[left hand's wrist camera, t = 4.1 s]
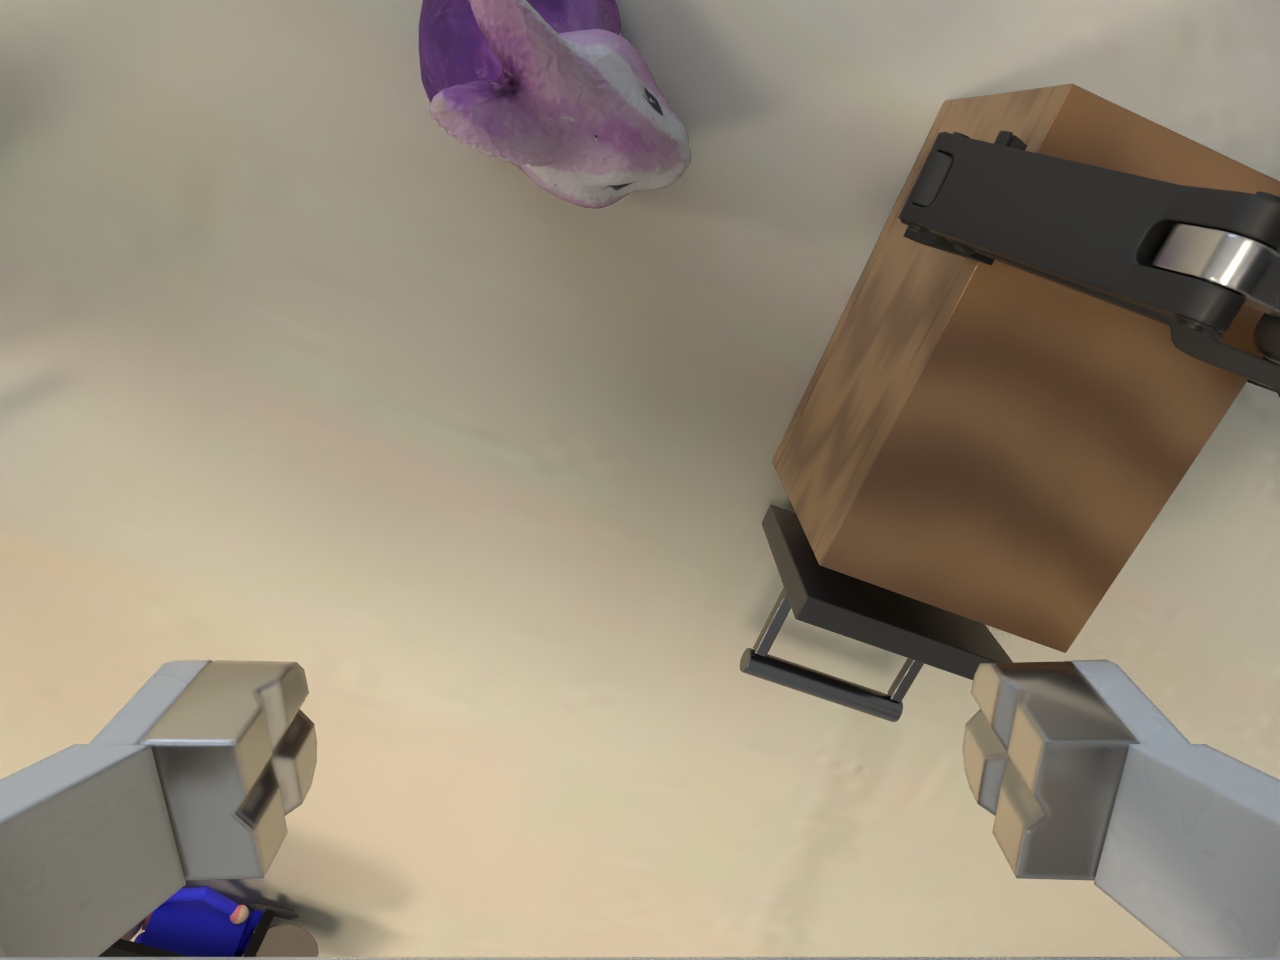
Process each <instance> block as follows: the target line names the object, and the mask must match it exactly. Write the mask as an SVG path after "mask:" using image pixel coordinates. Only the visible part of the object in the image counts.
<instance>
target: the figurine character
mask: <svg viewBox="0 0 1280 960" xmlns="http://www.w3.org/2000/svg"><path fill="white" fill-rule="evenodd" d="M247 907H248V908H249V909H250V910H252V911H253V913H252V914H251V916H250V917H249V919H248V916H249V913H250V910H248V908H247ZM247 907H246V906H245V905H239V904H237V903H236V902H234V901H232V900H230V899H229V898H227V897H225V896H223V895H222V894H220V893H218V892H216V891H215V890H213V889H211V888H209V887H208V886H206V887H191V888H181V889H180V890H179V891H177V892H176V893H175V894H174V895H172V896H171V897H170V898H169V899H168V900H166V901H165V902H164V903H163V904H161V905H160V906H159V907H158V908H157V909H155V910H154V911H153V912H152V913H150V914H149V915H148V916H147V917H146V918H144V919H143V920H142V921H141V922H139V923H138V924H137V925H136V926H135V927H133V928H132V929H131V930H130V931H128V932H127V933H126V934H125V935H124V936H122V937H121V938H120V939H119V940H117V941H116V942H115V943H114V944H113V945H111V946H110V947H109V948H108V949H106V950H105V951H104V952H103V953H102V954H100V955H99V956H98V957H242V956H243V957H318V946H317V943H316V941H315V939H314V938H313V937H312V935H311V934H309V933H308V932H307V931H305V930H304V929H302V928H300V927H297V926H293V925H279V926H275V927H272V928H270V929H268V928H269V926H270V923H271V921H272V919H273V917H274V916H275V917H280V918H285V919H294V918H298V917H299V916H298V915H297V914H296V913H295V912H294V911H292V910H287V909H282V908H277V907H273V906H268V905H263V904H258V903H255V904H251V905H247ZM263 914H264V915H263ZM262 916H263V917H262ZM261 918H262V919H261ZM247 919H248V921H247ZM260 920H261V921H260ZM259 921H260V923H259ZM258 923H259V925H258ZM142 925H143V926H142ZM257 925H258V927H257ZM141 927H142V930H145V932H143V933H141V934H140V935H138V936H137V938H136V939H135V941H134V942H132V941H129V940H130V939H132V938H133V937H134V936H135V935H136V933H137V932H138V931H139V930H140V928H141ZM256 927H257V929H256V931H255V933H253V932H254V930H255V928H256ZM243 954H244V955H243Z"/></svg>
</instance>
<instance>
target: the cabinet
mask: <svg viewBox="0 0 1280 960" xmlns="http://www.w3.org/2000/svg"><path fill="white" fill-rule="evenodd" d="M999 131H1009V132H1012V133H1013V135H1015V136H1017V137H1018V138H1019V139H1020V140H1022V141H1023V142H1024V144H1027V145H1028V146H1027V148H1026V150H1025V151H1030V152H1034V153H1039V154H1043V155H1048V156H1052V157H1057V158H1061V159H1066V160H1070V161H1075V162H1079V163H1084V164H1088V165H1093V166H1097V167H1102V168H1106V169H1111V170H1115V171H1120V172H1124V173H1129V174H1133V175H1138V176H1142V177H1147V178H1151V179H1156V180H1160V181H1165V182H1169V183H1173V184H1178V185H1184V186H1193V187H1202V188H1211V189H1220V190H1229V191H1237V192H1245V193H1251V194H1256V192H1266V193H1270V194H1273V195H1276V196H1278V197H1280V182H1279V181H1277V180H1275V179H1273V178H1271V177H1269V176H1267V175H1265V174H1263V173H1260V172H1258V171H1256V170H1254V169H1252V168H1250V167H1248V166H1246V165H1243V164H1241V163H1239V162H1237V161H1235V160H1233V159H1231V158H1229V157H1227V156H1224V155H1222V154H1220V153H1218V152H1216V151H1214V150H1212V149H1210V148H1207V147H1205V146H1203V145H1201V144H1199V143H1197V142H1195V141H1193V140H1190V139H1188V138H1186V137H1184V136H1182V135H1180V134H1178V133H1176V132H1174V131H1171V130H1169V129H1167V128H1165V127H1163V126H1161V125H1159V124H1157V123H1154V122H1152V121H1150V120H1148V119H1146V118H1144V117H1142V116H1140V115H1138V114H1135V113H1133V112H1131V111H1129V110H1127V109H1125V108H1123V107H1121V106H1118V105H1116V104H1114V103H1112V102H1110V101H1108V100H1106V99H1104V98H1102V97H1099V96H1097V95H1095V94H1093V93H1091V92H1089V91H1087V90H1085V89H1082V88H1080V87H1078V86H1076V85H1074V84H1066V85H1058V86H1053V87H1045V88H1038V89H1031V90H1023V91H1016V92H1009V93H1001V94H994V95H986V96H979V97H972V98H964V99H957V100H948V101H945V102H944V103H943V105H942V107H941V110H940V112H939V114H938V116H937V118H936V120H935V122H934V124H933V126H932V128H931V130H930V133H929V135H928V137H927V139H926V141H925V143H924V145H923V147H922V149H921V151H920V153H919V156H918V158H917V160H916V162H915V164H914V166H913V168H912V170H911V172H910V174H909V176H908V179H907V181H906V183H905V185H904V187H903V189H902V191H901V193H900V195H899V197H898V199H897V202H896V204H895V206H894V208H893V210H892V212H891V214H890V216H889V218H888V220H887V222H886V225H885V227H884V229H883V231H882V233H881V235H880V237H879V239H878V241H877V243H876V245H875V248H874V250H873V252H872V254H871V256H870V258H869V260H868V262H867V264H866V266H865V268H864V271H863V273H862V275H861V277H860V279H859V281H858V283H857V285H856V287H855V289H854V291H853V294H852V296H851V298H850V300H849V302H848V304H847V306H846V308H845V310H844V312H843V315H842V317H841V319H840V321H839V323H838V325H837V327H836V329H835V331H834V333H833V335H832V338H831V340H830V342H829V344H828V346H827V348H826V350H825V352H824V354H823V356H822V358H821V361H820V363H819V365H818V367H817V369H816V371H815V373H814V375H813V377H812V379H811V381H810V384H809V386H808V388H807V390H806V392H805V394H804V396H803V398H802V400H801V402H800V404H799V407H798V409H797V411H796V413H795V415H794V417H793V419H792V421H791V423H790V425H789V427H788V430H787V432H786V434H785V436H784V438H783V440H782V442H781V444H780V446H779V448H778V450H777V453H776V455H775V457H774V459H773V461H772V463H773V465H774V467H775V469H776V471H777V473H778V475H779V478H780V480H781V482H782V484H783V486H784V489H785V491H786V493H787V495H788V497H789V499H790V502H791V504H792V506H793V508H794V510H795V512H796V515H797V517H798V519H799V521H800V523H801V526H802V528H803V530H804V532H805V534H806V536H807V539H808V541H809V543H810V545H811V547H812V550H813V552H814V554H815V557H816V559H817V561H818V563H819V565H820V566H823V567H826V568H829V569H832V570H835V571H837V572H840V573H843V574H846V575H849V576H851V577H854V578H857V579H860V580H863V581H865V582H868V583H871V584H874V585H877V586H879V587H882V588H885V589H888V590H891V591H893V592H896V593H899V594H902V595H905V596H907V597H910V598H913V599H916V600H919V601H921V602H924V603H927V604H930V605H933V606H935V607H938V608H941V609H944V610H947V611H949V612H952V613H955V614H958V615H961V616H963V617H966V618H969V619H972V620H975V621H977V622H980V623H983V624H986V625H989V626H991V627H994V628H997V629H1000V630H1003V631H1005V632H1008V633H1011V634H1014V635H1017V636H1019V637H1022V638H1025V639H1028V640H1031V641H1033V642H1036V643H1039V644H1042V645H1045V646H1047V647H1050V648H1053V649H1056V650H1059V651H1061V652H1064V653H1066V652H1067V650H1068V649H1069V647H1070V646H1071V644H1072V643H1073V641H1074V640H1075V638H1076V637H1077V635H1078V634H1079V632H1080V631H1081V629H1082V628H1083V626H1084V625H1085V623H1086V622H1087V620H1088V619H1089V617H1090V616H1091V614H1092V613H1093V611H1094V610H1095V608H1096V607H1097V605H1098V604H1099V602H1100V601H1101V599H1102V598H1103V596H1104V595H1105V593H1106V592H1107V590H1108V589H1109V587H1110V586H1111V584H1112V583H1113V581H1114V580H1115V578H1116V577H1117V575H1118V574H1119V572H1120V571H1121V569H1122V568H1123V566H1124V565H1125V563H1126V562H1127V560H1128V559H1129V557H1130V556H1131V554H1132V553H1133V551H1134V550H1135V548H1136V547H1137V545H1138V544H1139V542H1140V541H1141V539H1142V538H1143V536H1144V535H1145V533H1146V532H1147V530H1148V529H1149V527H1150V526H1151V524H1152V523H1153V521H1154V520H1155V518H1156V517H1157V515H1158V514H1159V512H1160V511H1161V509H1162V508H1163V506H1164V505H1165V503H1166V502H1167V500H1168V499H1169V497H1170V496H1171V494H1172V493H1173V491H1174V490H1175V488H1176V487H1177V486H1178V484H1179V483H1180V481H1181V480H1182V478H1183V477H1184V475H1185V474H1186V472H1187V471H1188V469H1189V468H1190V466H1191V465H1192V463H1193V462H1194V460H1195V459H1196V457H1197V456H1198V454H1199V453H1200V451H1201V450H1202V448H1203V447H1204V445H1205V444H1206V442H1207V441H1208V439H1209V438H1210V436H1211V435H1212V433H1213V432H1214V430H1215V429H1216V427H1217V426H1218V424H1219V423H1220V421H1221V420H1222V418H1223V417H1224V415H1225V414H1226V412H1227V411H1228V409H1229V408H1230V406H1231V405H1232V403H1233V402H1234V400H1235V399H1236V397H1237V396H1238V394H1239V393H1240V391H1241V390H1242V388H1243V387H1244V385H1245V384H1246V382H1247V381H1248V379H1246V378H1243V377H1241V376H1238V375H1236V374H1233V373H1231V372H1228V371H1226V370H1223V369H1221V368H1218V367H1216V366H1213V365H1211V364H1208V363H1205V362H1203V361H1200V360H1198V359H1195V358H1193V357H1191V356H1190V355H1188V354H1186V353H1184V352H1182V351H1181V350H1179V349H1178V348H1176V347H1175V345H1174V344H1173V342H1172V341H1171V331H1170V326H1169V325H1166V324H1163V323H1161V322H1158V321H1156V320H1153V319H1150V318H1148V317H1145V316H1142V315H1140V314H1137V313H1134V312H1132V311H1129V310H1126V309H1124V308H1121V307H1119V306H1116V305H1113V304H1111V303H1108V302H1105V301H1103V300H1100V299H1097V298H1095V297H1092V296H1090V295H1087V294H1084V293H1082V292H1079V291H1076V290H1074V289H1071V288H1068V287H1066V286H1063V285H1060V284H1058V283H1055V282H1053V281H1050V280H1047V279H1045V278H1042V277H1039V276H1037V275H1034V274H1031V273H1029V272H1026V271H1024V270H1021V269H1018V268H1016V267H1013V266H1010V265H1008V264H1005V263H1002V262H1000V261H997V260H994V262H993V264H992V265H988V264H985V263H982V262H979V261H975V260H972V259H969V258H965V257H962V256H959V255H956V254H952V253H949V252H946V251H943V250H939V249H936V248H933V247H929V246H926V245H923V244H920V243H918V242H915V241H913V240H911V239H908V238H906V237H904V236H903V235H904V233H905V231H906V229H907V227H908V225H906V224H903V223H901V222H900V221H901V220H900V219H899V218H898V216H899V214H900V212H901V210H902V208H903V206H904V204H905V202H906V200H907V198H908V195H909V193H910V191H911V189H912V187H913V185H914V183H915V181H916V179H917V177H918V175H919V172H920V170H921V168H922V166H923V164H924V162H925V160H926V158H927V156H928V154H929V152H930V149H931V147H932V145H933V143H934V141H935V139H936V137H937V135H938V133H939V132H947V133H950V134H953V132H958V133H961V134H964V135H966V136H968V137H970V138H971V139H976V140H980V141H985V142H989V143H994V141H995V139H996V137H997V135H998V133H999ZM1263 314H1264V312H1262V311H1259V310H1257V309H1254V308H1252V307H1249V306H1246V305H1243V306H1242V307H1241V309H1240V310H1239V312H1238V313H1237V315H1236V317H1235V318H1234V320H1233V321H1232V323H1231V324H1230V326H1229V328H1228V329H1227V331H1226V332H1225V333H1224V334H1223V337H1222V340H1223V342H1224V344H1226V345H1229V346H1231V347H1234V348H1237V349H1239V350H1242V351H1245V352H1247V353H1250V354H1253V355H1255V356H1258V357H1261V358H1263V357H1264V356H1263V355H1261V354H1260V353H1258V352H1257V351H1258V350H1257V349H1256V347H1255V345H1254V342H1253V332H1254V329H1255V327H1256V325H1257V323H1258V321H1259V320H1260V318H1261V317H1262V315H1263Z"/></svg>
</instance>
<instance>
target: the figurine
mask: <svg viewBox="0 0 1280 960" xmlns="http://www.w3.org/2000/svg"><path fill="white" fill-rule="evenodd" d="M419 55H420V66H421V77H422V82H423V86H424V88H425V91H426V94H427V96H428V98H429V100H430V102H431V106H430V113H431V115H432V117H433V119H436V121H437V122H438V124H439V126H440V127H444V129H445V130H446V132H447V133H448V134H450V135H452V136H453V137H454V138H455V139H456V140H457V141H459V142H463V143H468V145H469V146H470V147H471V148H472V149H477V150H479V151H480V152H482V153H483V154H486V155H493V156H496V157H498V158H500V159H501V160H503V161H509V162H511V163H513V164H515V165H516V166H518V167H519V168H520V169H521V170H523V171H524V172H525V173H527V175H528V176H529V177H530V178H531V179H532V180H533V181H534V182H535V183H536V184H538V185H539V186H540V187H542V188H544V189H545V190H546V191H548V192H549V193H551V194H553V195H555V196H556V197H558V198H560V199H562V200H564V201H567V202H569V203H572V204H575V205H578V206H582V207H586V208H602V207H605V206H608V205H611V204H613V203H615V202H617V201H618V200H620V199H621V198H622V197H624V196H626V195H628V194H629V193H631V192H634V191H641V190H648V189H657V188H663V187H667V186H669V185H671V184H672V183H673V182H675V181H676V180H677V179H678V178H679V177H680V176H681V175H682V173H683V171H684V170H685V169H686V168H687V167H688V165H689V163H690V161H691V150H690V147H689V137H688V134H687V132H686V129H685V127H684V125H683V123H682V121H681V120H680V118H679V117H678V116H677V115H676V113H675V112H674V111H673V110H672V108H671V107H670V105H669V104H668V102H667V101H666V99H665V98H664V96H663V94H662V93H661V91H660V89H659V88H658V86H657V84H656V82H655V80H654V78H653V76H652V74H651V73H650V71H649V69H648V67H647V65H646V63H645V62H644V61H643V59H642V58H641V56H640V55H639V53H638V52H637V51H636V49H635V48H634V47H633V46H632V45H631V44H630V43H629V42H628V41H627V40H626V39H625V38H624V37H623V36H622V34H621V20H620V15H619V11H618V8H617V4H616V1H615V0H423V3H422V8H421V14H420V22H419Z"/></svg>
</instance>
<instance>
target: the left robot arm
mask: <svg viewBox="0 0 1280 960" xmlns="http://www.w3.org/2000/svg"><path fill="white" fill-rule="evenodd" d="M308 694H309V691H308V686H307V681H306V676H305V672H304V669H303V668H302V667H301V666H300V665H299V664H298V663H297V662H267V661H218V660H217V661H211V660H175V661H171V662H167V663H164V664H163V665H162V666H161V667H160V668H159V669H158V670H157V671H156V673H155V674H154V675H153V676H152V677H151V678H150V679H149V680H148V681H147V682H146V683H145V684H144V685H143V686H142V688H141V689H140V690H139V691H138V692H137V693H136V694H135V695H134V696H133V697H132V698H131V699H130V700H129V701H128V703H127V704H126V705H125V706H124V707H123V708H122V709H121V710H120V711H119V712H118V713H117V714H116V715H115V717H114V718H113V719H112V720H111V721H110V722H109V723H108V724H107V725H106V726H105V727H104V728H103V729H102V730H101V732H100V733H99V734H98V735H97V736H96V737H95V738H94V739H93V740H92V741H91V742H90V743H89V744H75V745H72V746H70V747H68V748H66V749H64V750H62V751H60V752H58V753H56V754H54V755H52V756H49V757H47V758H45V759H43V760H41V761H39V762H37V763H35V764H33V765H31V766H29V767H26V768H24V769H22V770H20V771H18V772H16V773H14V774H12V775H10V776H8V777H6V778H3V779H1V780H0V960H1280V780H1278V779H1276V778H1274V777H1272V776H1270V775H1268V774H1266V773H1264V772H1262V771H1260V770H1258V769H1256V768H1253V767H1251V766H1249V765H1247V764H1245V763H1243V762H1241V761H1239V760H1237V759H1235V758H1233V757H1231V756H1228V755H1226V754H1224V753H1222V752H1220V751H1218V750H1216V749H1214V748H1212V747H1210V746H1208V745H1206V744H1191V743H1190V742H1189V741H1188V740H1187V739H1186V738H1185V737H1184V736H1183V735H1182V734H1181V733H1180V731H1179V730H1178V729H1177V728H1176V727H1175V726H1174V725H1173V724H1172V723H1171V722H1170V721H1169V720H1168V719H1167V718H1166V716H1165V715H1164V714H1163V713H1162V712H1161V711H1160V710H1159V709H1158V708H1157V707H1156V706H1155V705H1154V704H1153V702H1152V701H1151V700H1150V699H1149V698H1148V697H1147V696H1146V695H1145V694H1144V693H1143V692H1142V691H1141V690H1140V689H1139V687H1138V686H1137V685H1136V684H1135V683H1134V682H1133V681H1132V680H1131V679H1130V678H1129V677H1128V676H1127V675H1126V673H1125V672H1124V671H1123V670H1122V669H1121V668H1120V667H1119V666H1118V665H1117V664H1115V663H1113V662H1110V661H1108V660H1082V661H1064V662H1024V663H980V664H979V667H978V669H977V671H976V673H975V675H974V680H973V685H972V691H971V694H972V695H973V697H974V699H975V700H976V702H977V704H978V705H979V707H980V710H979V711H978V712H977V713H976V714H975V715H974V716H973V717H972V718H971V719H970V720H969V721H968V722H967V723H966V727H965V734H964V742H963V756H964V767H965V773H966V776H967V780H968V783H969V786H970V789H971V791H972V793H973V795H974V797H975V799H976V801H977V803H978V804H979V805H980V806H982V807H983V808H985V809H986V810H988V811H989V812H990V813H992V814H993V815H995V822H994V827H993V834H994V836H995V838H996V840H997V842H998V844H999V846H1000V848H1001V850H1002V852H1003V854H1004V855H1005V857H1006V859H1007V861H1008V863H1009V865H1010V867H1011V869H1012V871H1013V873H1014V874H1015V876H1016V878H1027V879H1063V880H1095V881H1094V884H1095V885H1096V886H1097V887H1098V888H1099V889H1101V890H1102V891H1103V892H1104V893H1106V894H1107V895H1108V896H1109V897H1110V898H1112V899H1113V900H1114V901H1115V902H1117V903H1118V904H1119V905H1120V906H1121V907H1123V908H1124V909H1125V910H1126V911H1127V912H1129V913H1130V914H1131V915H1132V916H1134V917H1135V918H1136V919H1137V920H1138V921H1140V922H1141V923H1142V924H1143V925H1145V926H1146V927H1147V928H1148V929H1149V930H1151V931H1152V932H1153V933H1154V934H1156V935H1157V936H1158V937H1159V938H1160V939H1162V940H1163V941H1164V942H1165V943H1167V944H1168V945H1169V946H1170V947H1171V948H1173V949H1174V950H1175V951H1176V952H1178V953H1179V954H1180V955H1181V956H1182V957H98V956H99V955H100V954H102V953H103V952H104V951H105V950H106V949H108V948H109V947H110V946H111V945H113V944H114V943H115V942H116V941H117V940H119V939H120V938H121V937H122V936H124V935H125V934H126V933H127V932H128V931H130V930H131V929H132V928H133V927H135V926H136V925H137V924H138V923H139V922H141V921H142V920H143V919H144V918H146V917H147V916H148V915H149V914H150V913H152V912H153V911H154V910H155V909H157V908H158V907H159V906H160V905H161V904H163V903H164V902H165V901H166V900H168V899H169V898H170V897H171V896H172V895H174V894H175V893H176V892H177V891H179V890H180V889H181V888H182V887H183V886H185V885H186V881H185V880H216V879H250V878H264V877H265V875H266V873H267V871H268V869H269V867H270V865H271V863H272V861H273V859H274V857H275V856H276V854H277V852H278V850H279V848H280V846H281V844H282V842H283V840H284V838H285V836H286V834H287V827H286V822H285V815H287V814H288V813H290V812H291V811H292V810H294V809H295V808H297V807H298V806H300V805H301V804H302V803H303V801H304V799H305V797H306V795H307V793H308V791H309V789H310V787H311V784H312V780H313V775H314V771H315V766H316V762H317V739H316V733H315V726H314V723H313V722H312V721H311V720H310V719H309V718H308V717H307V716H306V715H305V714H304V713H303V712H302V711H301V710H300V707H301V705H302V704H303V702H304V700H305V699H306V697H307V695H308Z"/></svg>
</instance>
